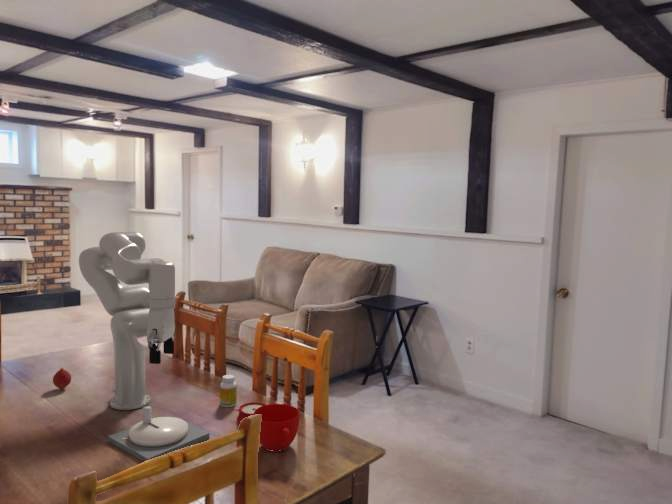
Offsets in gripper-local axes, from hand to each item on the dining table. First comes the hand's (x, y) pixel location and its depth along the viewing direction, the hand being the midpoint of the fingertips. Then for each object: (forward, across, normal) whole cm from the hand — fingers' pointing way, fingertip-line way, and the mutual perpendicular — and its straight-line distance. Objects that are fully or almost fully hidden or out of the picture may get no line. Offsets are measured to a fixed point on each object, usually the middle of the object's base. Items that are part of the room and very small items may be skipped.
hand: (162, 358), depth 160 cm
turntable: (+19, +10, +4) cm, 22 cm away
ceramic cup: (+20, +11, +39) cm, 45 cm away
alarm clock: (+21, -6, +28) cm, 36 cm away
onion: (+21, -21, -46) cm, 55 cm away
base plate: (+20, +10, +4) cm, 23 cm away
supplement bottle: (+21, -18, +16) cm, 31 cm away
